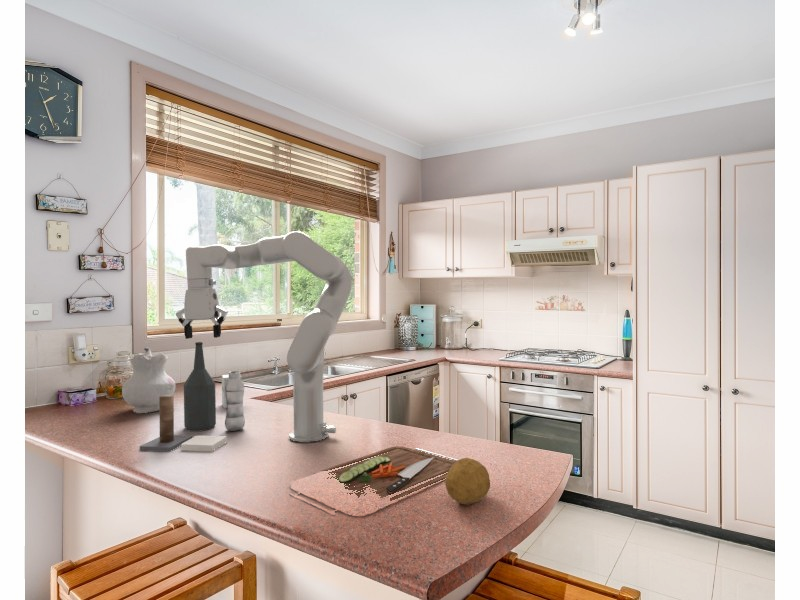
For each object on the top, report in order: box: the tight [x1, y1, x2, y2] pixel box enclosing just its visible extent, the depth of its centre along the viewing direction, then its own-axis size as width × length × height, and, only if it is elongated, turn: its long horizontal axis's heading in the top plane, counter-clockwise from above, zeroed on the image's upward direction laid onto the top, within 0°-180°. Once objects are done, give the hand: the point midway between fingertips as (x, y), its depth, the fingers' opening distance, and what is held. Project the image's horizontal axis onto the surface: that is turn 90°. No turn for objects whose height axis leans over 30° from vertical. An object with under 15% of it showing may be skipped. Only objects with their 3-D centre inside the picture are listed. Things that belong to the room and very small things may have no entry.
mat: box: [139, 434, 194, 452], centre depth 156 cm, size 10×12×1 cm
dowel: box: [159, 394, 175, 443], centre depth 156 cm, size 4×4×14 cm
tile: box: [180, 435, 228, 452], centre depth 154 cm, size 2×9×10 cm
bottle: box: [183, 341, 217, 432], centre depth 176 cm, size 10×10×30 cm
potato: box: [444, 457, 491, 505], centre depth 113 cm, size 10×13×9 cm
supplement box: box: [221, 374, 243, 409], centre depth 209 cm, size 7×7×13 cm
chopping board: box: [320, 445, 459, 501], centre depth 128 cm, size 45×27×3 cm, turn 137°
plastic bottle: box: [224, 370, 246, 432], centre depth 172 cm, size 6×7×20 cm
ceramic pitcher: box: [121, 346, 176, 414], centre depth 204 cm, size 22×20×25 cm
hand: (203, 337), depth 163 cm, fingers open, 9 cm apart
